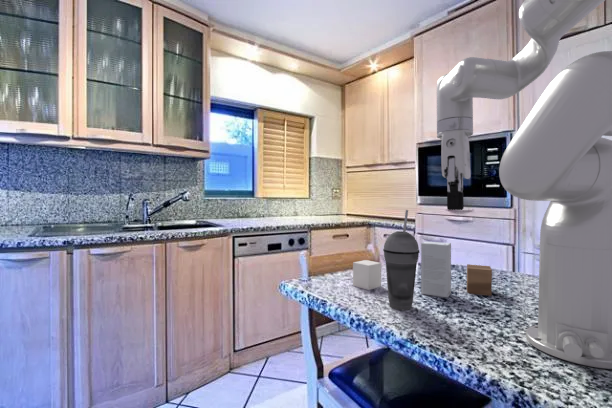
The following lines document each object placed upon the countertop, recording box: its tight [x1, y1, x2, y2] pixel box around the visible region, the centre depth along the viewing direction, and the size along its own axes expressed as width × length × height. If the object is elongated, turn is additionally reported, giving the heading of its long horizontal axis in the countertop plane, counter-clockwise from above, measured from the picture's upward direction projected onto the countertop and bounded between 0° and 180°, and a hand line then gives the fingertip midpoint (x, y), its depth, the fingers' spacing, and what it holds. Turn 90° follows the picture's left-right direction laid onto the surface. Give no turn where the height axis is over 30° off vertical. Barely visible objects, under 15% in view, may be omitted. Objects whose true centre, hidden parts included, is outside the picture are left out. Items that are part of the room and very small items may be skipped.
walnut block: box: [466, 264, 493, 297], centre depth 79 cm, size 5×5×6 cm
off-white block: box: [352, 259, 382, 291], centre depth 83 cm, size 5×5×6 cm
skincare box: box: [420, 241, 452, 299], centre depth 77 cm, size 6×4×12 cm
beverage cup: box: [383, 209, 421, 311], centre depth 67 cm, size 7×7×20 cm
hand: (455, 209), depth 74 cm, fingers closed
